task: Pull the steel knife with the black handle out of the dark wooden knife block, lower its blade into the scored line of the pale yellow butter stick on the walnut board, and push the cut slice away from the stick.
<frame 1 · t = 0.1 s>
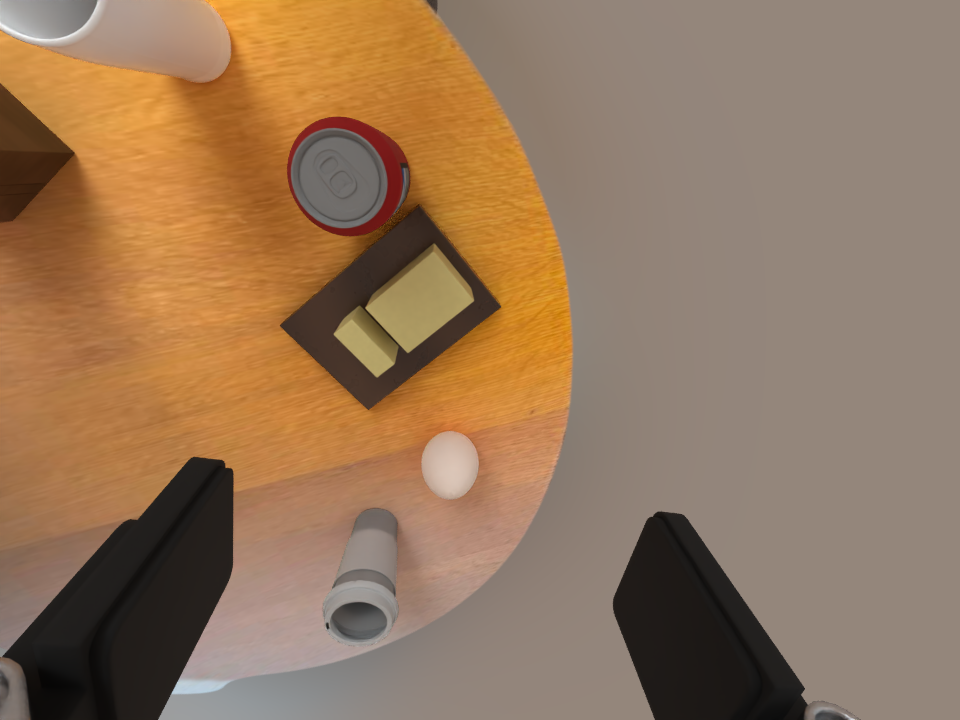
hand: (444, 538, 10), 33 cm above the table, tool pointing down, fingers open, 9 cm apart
board: (393, 311, 42), on the table
drinking glass: (196, 41, 33), on the table
butter block: (422, 291, 40), point 1 cm above the table, touching board
egg: (449, 440, 48), on the table
butter slice: (371, 332, 41), point 1 cm above the table, touching board
cup: (376, 523, 51), on the table
beverage can: (369, 175, 37), on the table
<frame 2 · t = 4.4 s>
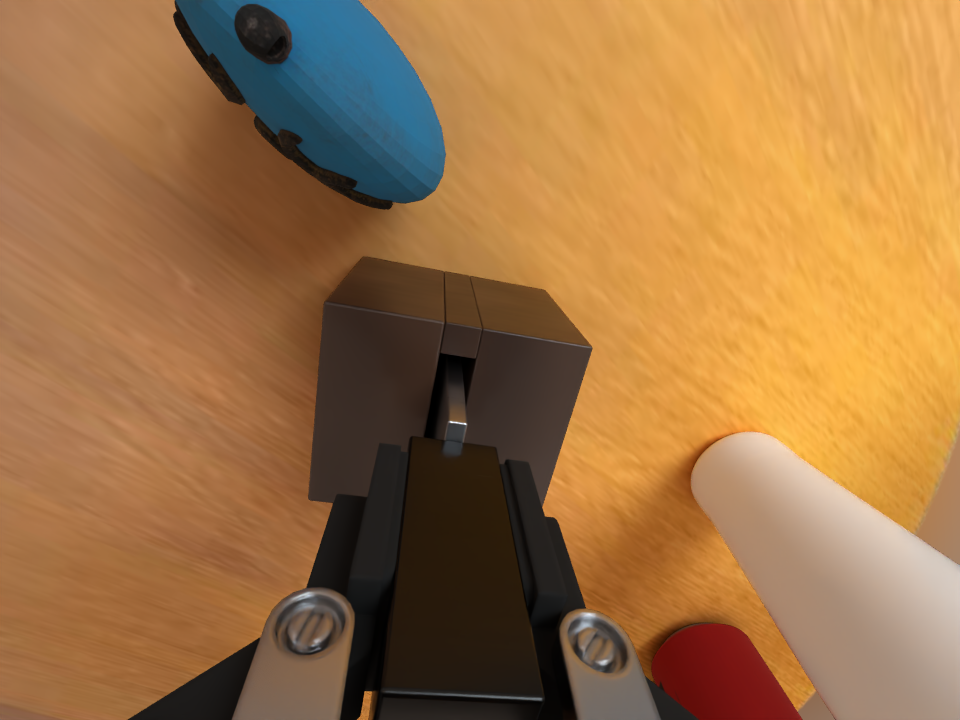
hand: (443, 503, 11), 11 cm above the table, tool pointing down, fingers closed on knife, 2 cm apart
drinking glass: (731, 466, 25), on the table
knife block: (443, 347, 21), on the table
ornament: (352, 104, 17), on the table
knife: (443, 445, 14), in the knife block, touching gripper
beverage can: (693, 645, 31), on the table
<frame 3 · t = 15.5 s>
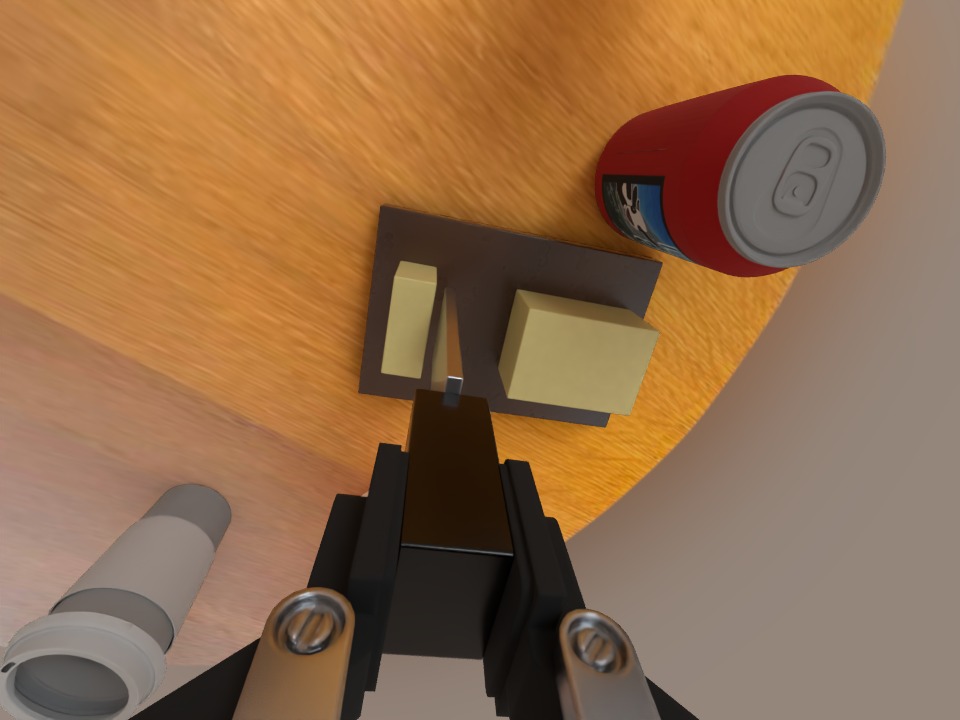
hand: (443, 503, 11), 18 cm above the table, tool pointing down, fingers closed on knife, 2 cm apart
board: (503, 322, 28), on the table
butter block: (563, 339, 28), point 1 cm above the table, touching board
butter slice: (411, 307, 26), point 1 cm above the table, touching board
knife: (443, 402, 16), point 12 cm above the table, touching gripper
cup: (197, 509, 32), on the table
beverage can: (646, 178, 26), on the table
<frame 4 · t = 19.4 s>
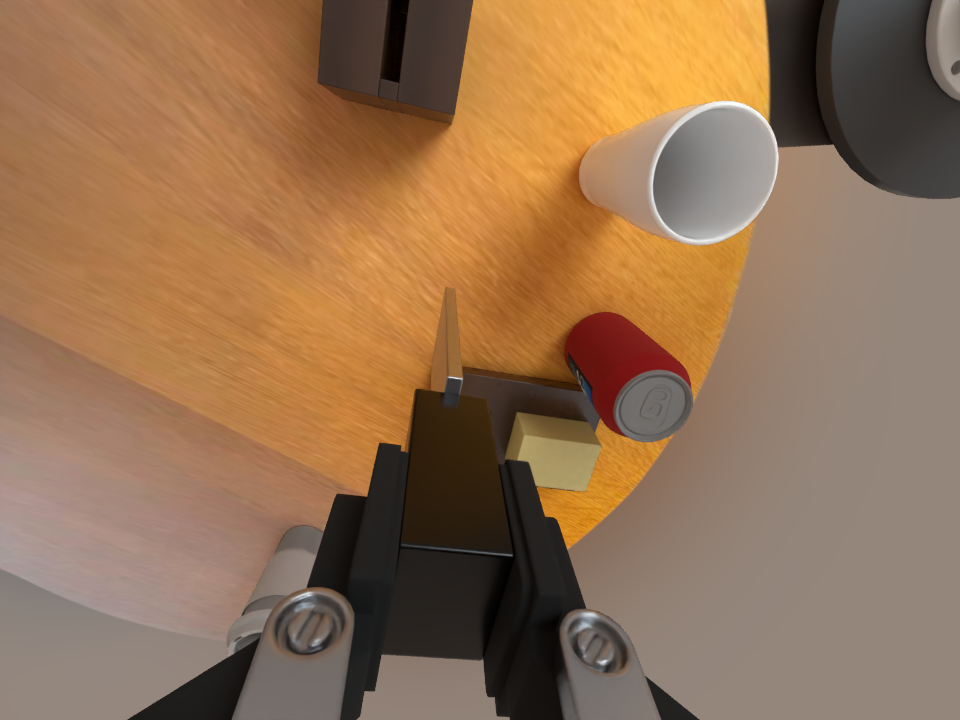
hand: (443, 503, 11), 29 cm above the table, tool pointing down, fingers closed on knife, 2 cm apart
board: (508, 426, 45), on the table
drinking glass: (609, 172, 36), on the table
butter block: (546, 439, 44), point 1 cm above the table, touching board
knife block: (404, 56, 32), on the table
knife: (443, 402, 16), point 24 cm above the table, touching gripper
cup: (305, 541, 48), on the table
beverage can: (597, 343, 42), on the table
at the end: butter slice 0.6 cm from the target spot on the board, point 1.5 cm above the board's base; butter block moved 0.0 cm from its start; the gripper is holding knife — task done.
